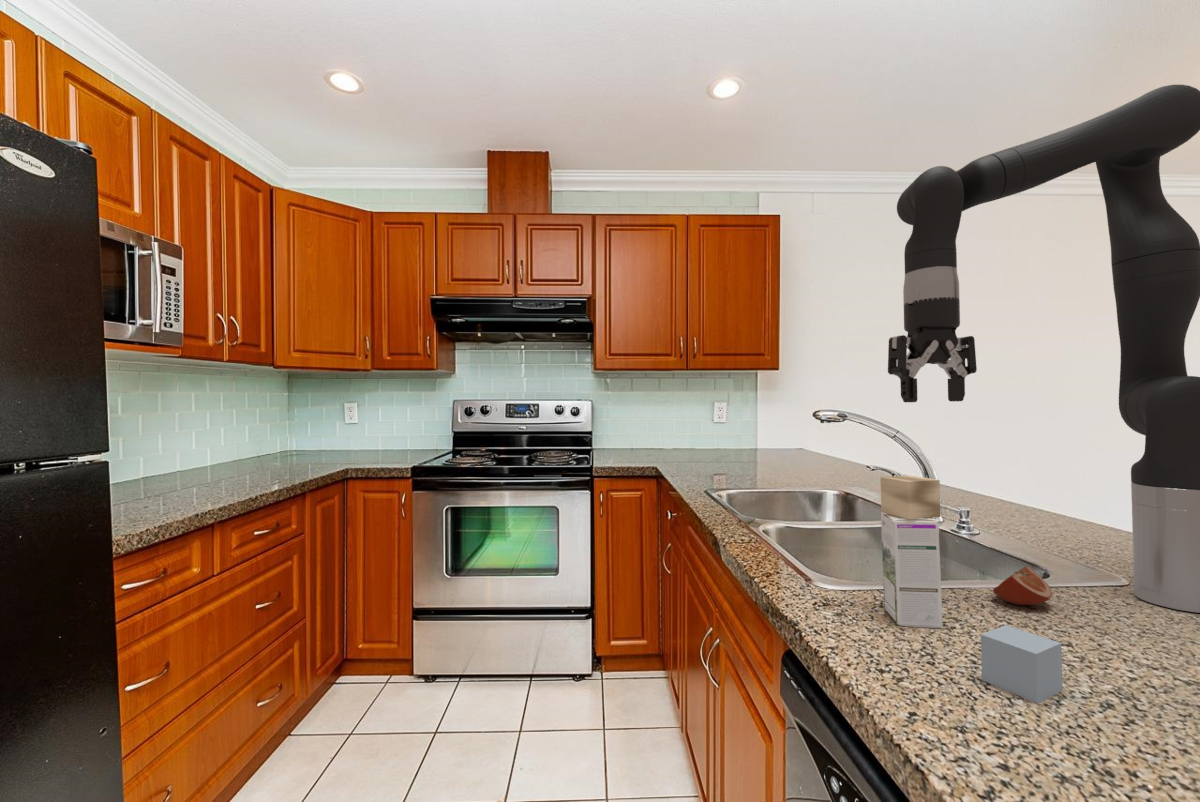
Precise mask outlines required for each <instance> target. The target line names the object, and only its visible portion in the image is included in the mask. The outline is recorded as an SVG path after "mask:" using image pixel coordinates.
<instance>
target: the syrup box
mask: <svg viewBox="0 0 1200 802" xmlns="http://www.w3.org/2000/svg"><path fill="white" fill-rule="evenodd" d="M880 518H881V521H880V523H881V528H880V529H881V548H882V551H881V552H882V583H883V584H882V586H883V610H884V611H885V612H886V613H887V614H888V615H889V617H890V618H891V619H892V620H893V622H895V624H896V625H898V626H901V627H910V628H924V629H925V628H926V629H927V628H928V629H943V604H942V579H941V578H942V577H941V554H940V553H941V552H940V551H941V550H940V533H939V531H940V528H939V520H937V519H935V517H933V518H919V519H906V518H902V517H898V516H895V515H891V514H887V513H883V512H881V513H880Z"/></svg>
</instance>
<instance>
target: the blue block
mask: <svg viewBox="0 0 1200 802" xmlns="http://www.w3.org/2000/svg"><path fill="white" fill-rule="evenodd" d="M1062 649H1063V648H1062V642H1060V641H1055V640H1053V639H1050V638H1046V637H1044V636H1040V635H1037V634H1035V633H1032V632H1028V631H1025V630H1022V629H1020V628H1016V627H1013V626H1009V625H1003V626H1001V627H997V628H995V629H992V630H990V631H987V632H984V633H981V634H980V653H981V655H980V656H981V681H983V682H985V683H987V684H990V685H992V686H995V687H996V688H1000V689H1001V690H1003V691H1007V692H1009V693H1012V694H1013V695H1015V696H1019V697H1021V698H1023V699H1025V700H1028V701H1030V702H1033V703H1035V704H1040V703H1042V702H1043V701H1045V700H1047V699H1049V698H1051V697H1053V696H1055V695H1057V694H1059V693H1060V692H1063V656H1062V653H1063V652H1062Z"/></svg>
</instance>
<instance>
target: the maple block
mask: <svg viewBox="0 0 1200 802" xmlns="http://www.w3.org/2000/svg"><path fill="white" fill-rule="evenodd" d="M940 490H941V486H940V479H935V478H929V477H923V476H917V475H916V476H915V475H911V474H909V475H896V476H895V475H894V476H893V475H892V476H891V475H890V476H880V509H881V510H880V511H881V512H883V513H887V514H891V515H895V516H898V517H902V518H906V519H919V518H941V491H940Z"/></svg>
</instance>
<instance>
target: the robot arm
mask: <svg viewBox="0 0 1200 802" xmlns="http://www.w3.org/2000/svg"><path fill="white" fill-rule="evenodd" d="M1199 131H1200V90H1199V89H1198V88H1196V87H1195V86H1192V85H1188V84H1170V85H1169V84H1168V85H1163V86H1160V87H1157V88H1155V89H1153V90H1149V92H1146V93H1143V94H1142V95H1141V96H1138V97H1136V98H1135V99H1133V100H1131V101H1128V102H1127V103H1125V104H1123V105H1120V106H1118V107H1116V108H1114V109H1112V110H1109V111H1108V112H1105V113H1102V114H1100V115H1098V116H1095V117H1093V118H1090V119H1087V120H1086V121H1083V122H1081V123H1078V124H1076V125H1073V126H1071V127H1068V128H1065V129H1062V130H1060V131H1059V130H1058V131H1057V132H1054V133H1051V134H1048V135H1045V136H1043V137H1039V138H1037V139H1034V140H1030V141H1027V142H1025V143H1021V144H1018V145H1015V146H1011V147H1009V148H1005V149H1002V150H999V151H995V152H993V153H990V154H987V155H983V156H980V157H978V158H977V159H974V160H972V161H970V162H969V163H967V164H966V165H964V166H963V167H962V168H960V169H958V170H954V169H953V168H951V167H949V166H945V165H938V166H933V167H931V168H929V169H927V170H925V171H924V172H922V173H920V174H919V175H918V176H917V177H916V178H915V179H914V180H913V182H911V183H910V184H909V186H908V187H906V188H905V189H904V190H903V192H902V193H901V194H900V196H899V198H898V200H897V203H896V212H897V215H898V217H899V219H900V220H901V221H902V222H904V223H906V224H907V225H910V226H912V231H911V234H910V237H909V238H908V240H907V241H906V243H905V247H904V282H903V290H902V291H903V292H902V295H903V298H902V299H903V329H904V331H905V332H906V333H907V336H906V335H904V334H902V335H896V336H891V337H889V338H888V356H887V357H888V358H887V373H888V374H889V375H894V376H896V377H898V378H899V379H900V398H901V399H902V401H903V403H917V401H918V378H915V377H916V376H917V374H918V373H919V371H920V370H921V368H923V367H924V366H926V364H927V365H928V364H931V365H938V367H939V368H941V369H942V370H943V371H944V372H945V373H946V375H947V376H948V378H947V399H948V401H949V402H963V401H964V399H965V395H966V381H965V380H966V377H967V376H969V375H971V374H975V373H976V372H977V369H978V368H977V358H976V357H977V355H976V344H975V343H976V342H975V337H974V336H973V335H967V336H962V337H958V336H957V333H956V330H957V328H959V327H960V325H961V315H960V314H961V312H960V311H961V308H960V306H961V305H960V300H961V299H960V280H959V275H958V269H957V267H958V266H957V265H958V263H957V262H958V261H957V243H956V242H957V236H958V232H959V229H960V225H961V224H960V223H961V218H962V215H963V212H965V211H967V210H968V209H971V208H973V207H976V206H978V205H982V204H986V203H990V202H993V201H997V200H999V199H1002V198H1006V197H1010V196H1012V195H1016V194H1020V193H1023V192H1024V191H1028V190H1031V189H1033V188H1034V189H1035V187H1039V186H1041V185H1043V184H1046V183H1048V182H1050V181H1052V180H1055V179H1057V178H1059V177H1062V176H1064V175H1066V174H1068V173H1071V172H1073V171H1076V170H1078V169H1081V168H1083V167H1086V166H1088V165H1091V164H1094V163H1095V166H1096V171H1097V173H1098V178H1099V182H1100V185H1101V190H1102V195H1103V198H1104V203H1105V210H1106V218H1107V220H1106V221H1107V227H1108V236H1109V245H1110V258H1111V260H1110V261H1111V263H1110V264H1111V273H1112V285H1113V292H1114V297H1115V298H1114V299H1115V307H1116V308H1115V309H1116V318H1117V328H1118V335H1119V336H1118V338H1119V345H1120V369H1119V385H1118V387H1119V388H1118V409H1119V411H1118V412H1119V413H1120V416H1121V417H1120V418H1122V420H1123V421H1124V424H1126V425H1127V427H1128V428H1130V429H1131V430H1132V431H1134V432H1136V433H1137V434H1140V435H1143V436H1145V441H1144V442H1145V443H1144V453H1143V455H1142V457H1141V458H1140V459H1139V460H1138V461H1136V462H1134V463H1133V464H1132V466H1131V468H1130V481H1131V482H1130V488H1131V516H1132V517H1131V518H1132V519H1131V520H1132V521H1131V524H1132V562H1133V566H1132V567H1133V569H1132V570H1133V571H1132V572H1133V594H1134V596H1135V597H1136V598H1138V599H1140V600H1142V601H1145V602H1147V603H1151V604H1152V605H1153V604H1154V605H1156V606H1157V605H1158V606H1161V607H1165V608H1169V609H1173V610H1178V611H1184V612H1191V613H1198V614H1200V376H1194V375H1188V372H1187V371H1188V370H1187V364H1186V363H1187V362H1186V357H1185V342H1186V337H1187V332H1188V330H1189V327H1190V324H1191V321H1192V319H1193V317H1194V314H1195V311H1196V309H1197V306H1198V304H1199V301H1200V239H1199V237H1198V235H1197V233H1196V231H1195V229H1193V227H1192V226H1191V225H1190V224H1189V223H1188V222H1187V220H1185V219H1184V217H1182V216H1181V214H1179V213H1178V211H1176V210H1175V208H1174V207H1172V205H1170V203H1169V202H1168V200H1167V199H1166V198H1165V195H1164V192H1163V188H1162V182H1161V175H1160V161H1161V157H1163V156H1165V155H1166V154H1167V153H1170V152H1172V151H1173V150H1175V149H1177V148H1179V147H1180V146H1182V145H1184V144H1185V143H1187V142H1189V140H1191V139H1193V138H1194V136H1196V135H1197V134H1198V133H1199ZM907 350H908V351H909V352H908V353H907ZM966 364H967V365H966Z"/></svg>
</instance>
